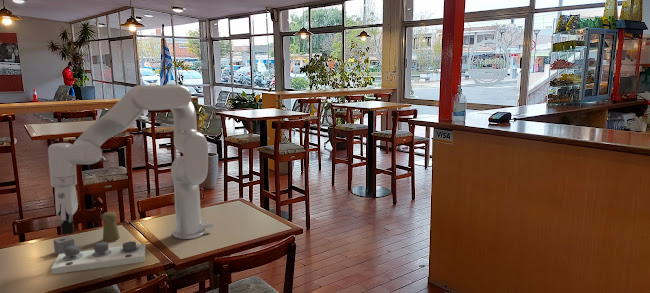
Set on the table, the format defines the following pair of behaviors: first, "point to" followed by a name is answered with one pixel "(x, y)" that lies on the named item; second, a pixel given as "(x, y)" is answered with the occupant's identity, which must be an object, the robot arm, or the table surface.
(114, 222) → the cork
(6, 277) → the table surface
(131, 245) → the button
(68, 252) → the button
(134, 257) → the button board
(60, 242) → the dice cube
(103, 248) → the middle button
